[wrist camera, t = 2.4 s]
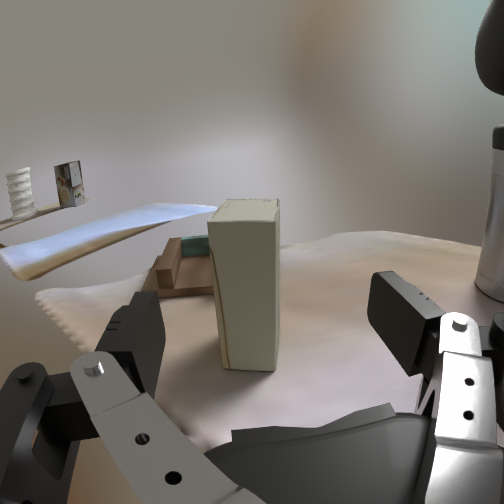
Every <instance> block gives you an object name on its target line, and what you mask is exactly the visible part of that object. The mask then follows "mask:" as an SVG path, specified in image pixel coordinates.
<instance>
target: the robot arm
mask: <svg viewBox="0 0 504 504" xmlns="http://www.w3.org/2000/svg"><path fill="white" fill-rule="evenodd" d="M475 63H476V69H477V72H478V75H479V78H480V79H481V81H482V83H483V84H484V85H485V86H486V87H487V88H488V89H489V90H491V91H493V92H495V93H497V94H500V95H503V96H504V0H490V3H489V5H488V8H487V11H486V13H485V16H484V18H483V20H482V23H481V26H480V28H479V31H478V35H477V40H476V46H475ZM492 147H493V148H494V149H492V171H491V172H492V174H491V186H490V197H489V205H488V214H487V221H486V228H485V234H484V239H483V245H482V250H481V255H480V260H479V264H478V269H477V273H476V277H475V283H476V285H477V286H478V288H479V289H480V290H481V291H483V292H484V293H485V294H487V295H488V296H490V297H492V298H494V299H496V300H499V301H501V302H504V124H503V125H499V126H496V127H495V128H494V130H493V144H492ZM367 315H368V320H369V322H370V324H371V326H372V327H373V328H374V330H375V331H376V332H377V334H378V335H379V336H380V338H381V339H382V340H383V342H384V343H385V345H386V346H387V347H388V349H389V350H390V351H391V353H392V354H393V355H394V357H395V358H396V360H397V361H398V362H399V364H400V365H401V367H402V368H403V369H404V371H405V372H406V374H407V375H408V376H409V377H410V376H413V375H416V374H420V373H422V374H423V377H422V379H421V382H420V387H419V392H418V397H417V402H416V407H415V411H414V414H413V413H395V411H394V409H393V408H392V406H391V404H390V403H386V404H383V405H379V406H375V407H372V408H368V409H364V410H359V411H355V412H353V413H351V414H349V415H347V416H344V417H342V418H340V419H338V420H336V421H333V422H331V423H329V424H327V425H324V426H322V427H318V428H301V427H280V426H270V427H261V428H251V429H239V430H231V433H232V442H229V443H225V444H223V445H220V446H217V447H215V448H213V449H211V450H209V451H207V452H205V453H204V454H203V453H202V452H201V451H200V450H199V449H198V448H197V447H196V446H195V445H194V444H193V443H192V442H191V441H190V440H189V439H188V438H187V437H186V436H185V435H184V434H183V433H182V432H181V431H180V430H179V428H178V427H177V426H176V425H175V424H174V423H173V422H172V421H171V420H170V419H169V417H168V416H167V415H166V414H165V413H164V412H163V411H162V409H161V408H160V407H159V406H158V405H157V404H156V402H155V401H154V396H155V391H156V386H157V380H158V376H159V371H160V366H161V361H162V356H163V352H164V347H165V340H166V337H165V327H164V323H163V318H162V313H161V308H160V303H159V298H158V294H157V292H156V291H140V292H135V293H134V296H133V298H132V300H131V302H130V304H129V305H125V306H122V307H121V308H119V309H118V310H117V311H116V312H115V313H114V314H113V315H112V317H111V319H110V321H109V323H108V325H107V327H106V330H105V331H104V333H103V335H102V337H101V339H100V341H99V343H98V345H97V347H96V349H95V351H94V352H90V353H87V354H84V355H83V356H81V357H79V358H78V359H76V360H75V361H74V363H73V364H72V366H71V369H70V372H67V373H61V374H55V375H48V374H47V371H46V369H45V368H44V366H43V365H41V364H39V363H35V362H32V363H26V364H23V365H20V366H19V367H17V368H16V369H14V370H13V371H12V372H11V374H10V375H9V377H8V378H7V380H6V382H5V384H4V385H3V387H2V389H1V390H0V504H67V499H68V494H69V489H70V484H71V479H72V475H73V470H74V465H75V461H76V457H77V453H78V449H79V445H80V441H81V440H84V439H91V438H97V437H101V439H102V441H103V443H104V444H105V446H106V448H107V449H108V451H109V453H110V455H111V456H112V458H113V459H114V461H115V463H116V464H117V466H118V468H119V469H120V471H121V472H122V474H123V475H124V477H125V478H126V480H127V481H128V483H129V484H130V486H131V487H132V489H133V490H134V491H135V493H136V494H137V496H138V497H139V498H140V500H141V501H142V503H143V504H504V448H503V447H500V446H497V443H496V422H497V423H498V424H499V426H500V427H501V429H502V430H503V432H504V312H501V313H497V314H496V315H495V316H494V319H493V322H492V324H491V326H483V327H478V325H477V323H476V322H475V321H474V320H473V319H472V318H471V317H469V316H467V315H464V314H460V313H448V314H447V313H445V312H444V311H443V310H442V309H441V308H440V307H439V306H438V305H436V304H435V303H434V302H433V301H432V300H431V299H430V300H429V297H427V296H426V295H425V294H423V292H422V291H420V290H419V289H418V288H417V287H416V286H414V285H412V284H410V283H407V282H406V281H404V280H403V279H402V278H401V277H400V276H399V275H397V274H396V273H395V272H394V271H385V272H376V273H374V274H373V276H372V279H371V286H370V294H369V301H368V308H367ZM36 429H37V430H38V434H37V437H36V440H35V442H34V445H33V448H32V447H31V445H32V440H33V436H34V434H35V431H36Z"/></svg>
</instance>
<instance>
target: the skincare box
mask: <svg viewBox="0 0 504 504" xmlns="http://www.w3.org/2000/svg"><path fill="white" fill-rule="evenodd" d="M207 225H208V237H209V247H210V259H211V269H212V279H213V289H214V298H215V308H216V316H217V325H218V333H219V341H220V349H221V357H222V364H223V368H226V369H239V370H254V371H275V370H276V365H277V357H278V348H279V337H280V200H279V199H226V200H225V201H224V202H223V203H222V204H221V205H220V206H219V207H218V209H217V210H216V211H215V212H214V213H213V215H212V216H211V217H210V218H209V220H208V221H207Z"/></svg>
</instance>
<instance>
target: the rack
mask: <svg viewBox="0 0 504 504" xmlns="http://www.w3.org/2000/svg"><path fill="white" fill-rule="evenodd" d="M141 291H156V292H157V294H158V298H160V297H175V296H189V295H202V294H214V289H213V279H212V269H211V259H210V247H209V237H208V235H204V236H192V237H180V238H170V239H169V241H168V243H167V245H166V247H165V249H164V252H163V254H162V256H157V258H156V260H155V262H154V264H153V266H152V269H151V271H150V273H149V275H148V277H147V279H146V282H145V284H144V286H143V288H142V290H141Z"/></svg>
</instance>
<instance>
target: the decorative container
mask: <svg viewBox="0 0 504 504" xmlns="http://www.w3.org/2000/svg"><path fill="white" fill-rule="evenodd" d="M28 171H30V167H27V168H24V169H20V170H16V171H13V172H10V173H6V174H5V177H7V185H8V189H9V191H8V193H9V195H10V202H11V206H12V207H11V209H12V211H13V216H12V217H11V218H12V221H17V220H21V219H25V218H28V217H31V216H33V215H35V214H37V213H38V211H37V209H34V201H33V197H32V196H33V193H32V192H31V184H30V176H29V172H28Z"/></svg>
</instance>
